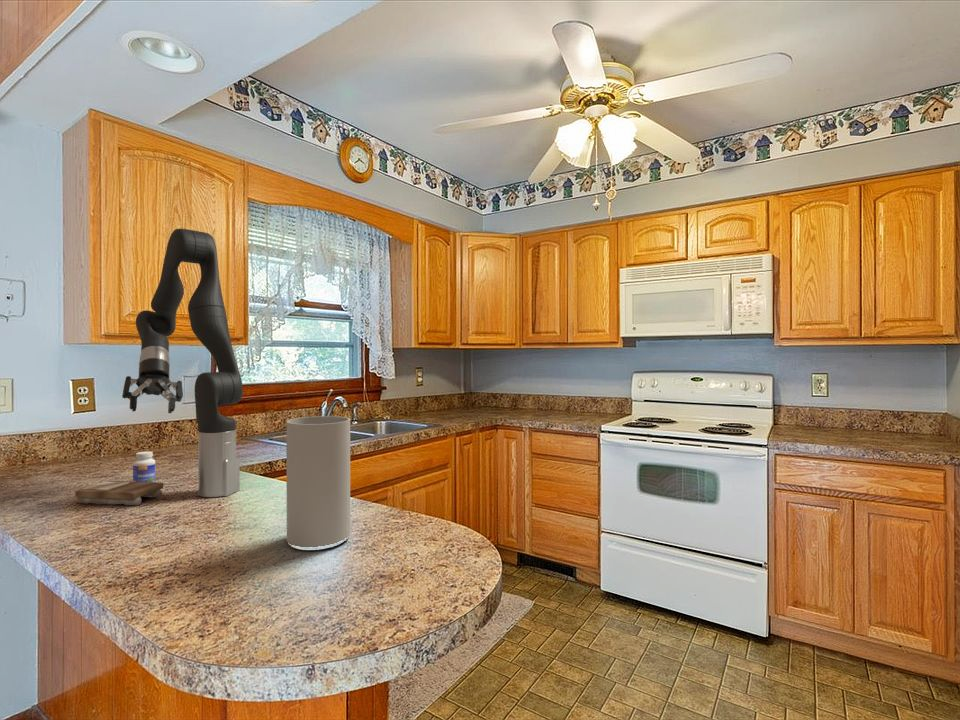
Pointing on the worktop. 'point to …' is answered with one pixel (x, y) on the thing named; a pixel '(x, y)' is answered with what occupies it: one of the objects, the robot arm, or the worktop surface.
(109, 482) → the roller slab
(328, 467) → the cylinder vase
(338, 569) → the worktop surface
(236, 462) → the robot arm
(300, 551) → the worktop surface
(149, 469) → the pill bottle
